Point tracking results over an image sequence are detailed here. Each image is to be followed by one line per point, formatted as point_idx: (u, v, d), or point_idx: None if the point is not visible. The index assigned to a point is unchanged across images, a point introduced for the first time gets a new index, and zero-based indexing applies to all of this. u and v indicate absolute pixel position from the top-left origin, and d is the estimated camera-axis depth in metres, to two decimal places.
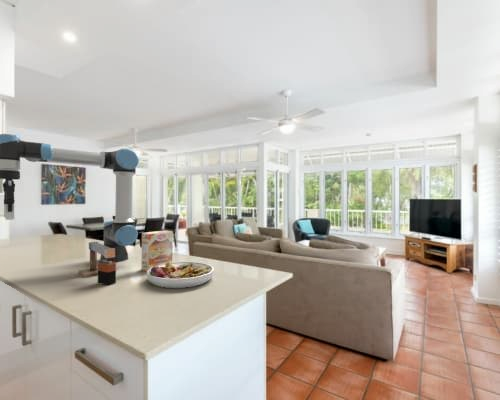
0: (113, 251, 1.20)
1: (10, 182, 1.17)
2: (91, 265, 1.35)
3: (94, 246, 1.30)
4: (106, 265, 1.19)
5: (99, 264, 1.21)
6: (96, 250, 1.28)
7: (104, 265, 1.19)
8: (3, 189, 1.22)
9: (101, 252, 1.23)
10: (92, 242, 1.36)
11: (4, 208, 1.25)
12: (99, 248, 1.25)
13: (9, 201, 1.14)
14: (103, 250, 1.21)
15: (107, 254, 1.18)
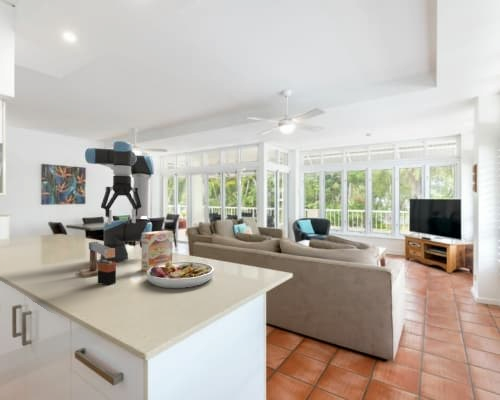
0: (113, 251, 1.20)
1: (106, 188, 1.23)
2: (91, 265, 1.35)
3: (94, 246, 1.30)
4: (106, 265, 1.19)
5: (99, 264, 1.21)
6: (96, 250, 1.28)
7: (104, 265, 1.19)
8: None
9: (101, 252, 1.23)
10: (92, 242, 1.36)
11: None
12: (99, 248, 1.25)
13: (101, 207, 1.22)
14: (103, 250, 1.21)
15: (107, 254, 1.18)
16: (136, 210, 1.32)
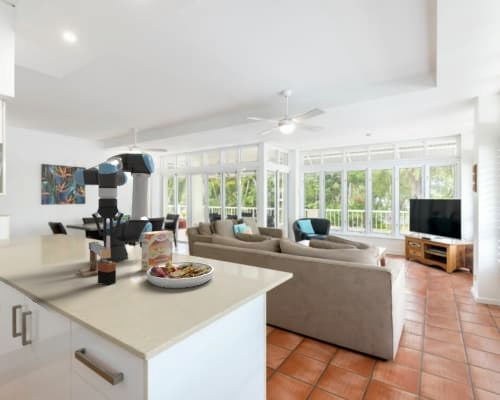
0: (109, 252, 1.18)
1: None
2: (91, 265, 1.35)
3: (93, 246, 1.30)
4: (106, 265, 1.19)
5: (99, 264, 1.21)
6: (94, 250, 1.27)
7: (104, 265, 1.19)
8: None
9: (98, 252, 1.22)
10: (92, 242, 1.36)
11: None
12: (96, 248, 1.24)
13: (99, 233, 1.23)
14: (99, 250, 1.20)
15: (102, 255, 1.17)
16: (111, 237, 1.24)
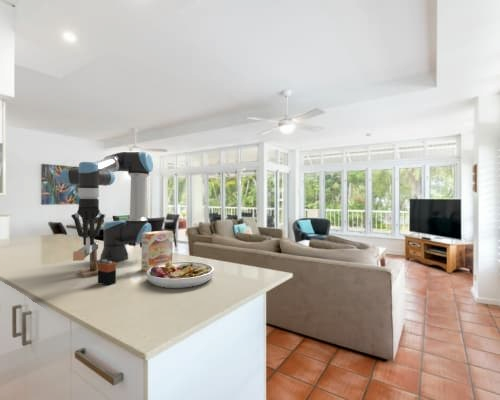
0: (81, 254, 1.13)
1: None
2: (91, 265, 1.35)
3: None
4: (106, 265, 1.19)
5: (99, 264, 1.21)
6: None
7: (104, 265, 1.19)
8: None
9: None
10: None
11: None
12: None
13: None
14: None
15: (74, 256, 1.12)
16: (91, 239, 1.19)
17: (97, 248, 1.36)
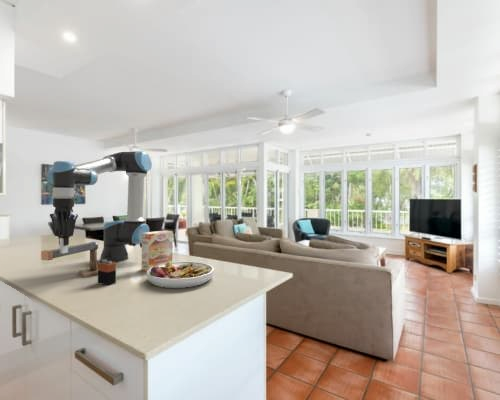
0: (46, 254, 1.12)
1: None
2: (91, 265, 1.35)
3: None
4: (106, 265, 1.19)
5: (99, 264, 1.21)
6: None
7: (104, 265, 1.19)
8: None
9: None
10: (93, 242, 1.37)
11: None
12: None
13: None
14: None
15: (42, 256, 1.13)
16: (64, 239, 1.17)
17: (95, 248, 1.35)
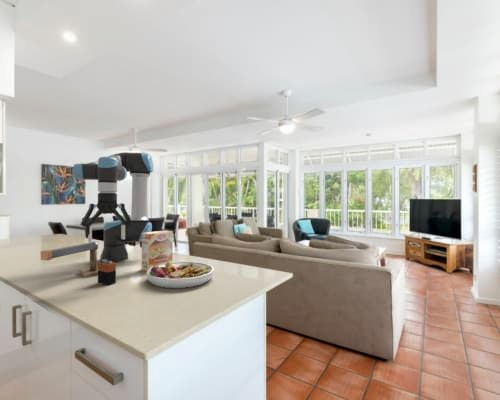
0: (46, 254, 1.12)
1: (90, 205, 1.17)
2: (91, 265, 1.35)
3: None
4: (106, 265, 1.19)
5: (99, 264, 1.21)
6: None
7: (104, 265, 1.19)
8: None
9: None
10: (93, 242, 1.37)
11: (121, 229, 1.27)
12: None
13: (81, 224, 1.15)
14: None
15: (41, 256, 1.13)
16: (126, 226, 1.27)
17: (95, 248, 1.35)
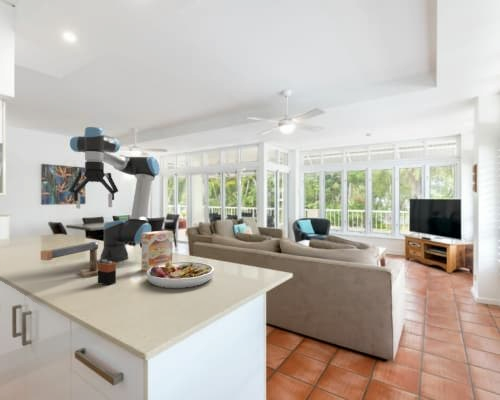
0: (46, 254, 1.12)
1: (78, 173, 1.22)
2: (91, 265, 1.35)
3: None
4: (106, 265, 1.19)
5: (99, 264, 1.21)
6: None
7: (104, 265, 1.19)
8: None
9: None
10: (93, 242, 1.37)
11: (108, 198, 1.33)
12: None
13: (69, 190, 1.20)
14: None
15: (41, 256, 1.13)
16: (113, 194, 1.33)
17: (95, 248, 1.35)
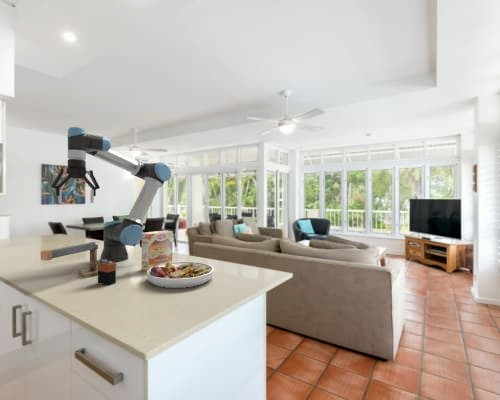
0: (46, 254, 1.12)
1: (60, 169, 1.31)
2: (91, 265, 1.35)
3: None
4: (106, 265, 1.19)
5: (99, 264, 1.21)
6: None
7: (104, 265, 1.19)
8: None
9: None
10: (93, 242, 1.37)
11: (90, 194, 1.41)
12: None
13: (51, 186, 1.29)
14: None
15: (41, 256, 1.13)
16: (94, 191, 1.41)
17: (95, 248, 1.35)
